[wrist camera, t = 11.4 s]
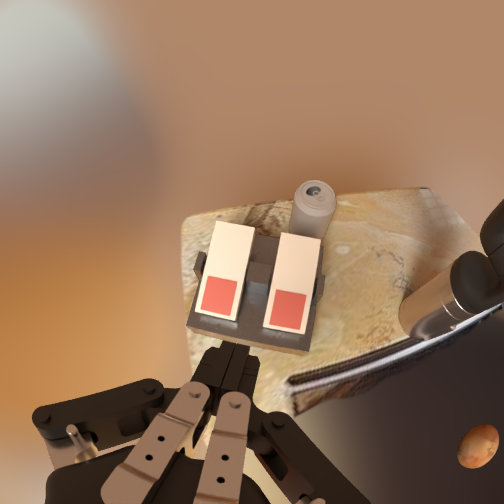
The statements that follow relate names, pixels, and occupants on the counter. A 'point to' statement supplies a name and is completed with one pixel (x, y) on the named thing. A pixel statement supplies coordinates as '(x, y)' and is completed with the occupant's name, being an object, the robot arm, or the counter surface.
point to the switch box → (256, 305)
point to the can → (312, 209)
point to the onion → (478, 446)
